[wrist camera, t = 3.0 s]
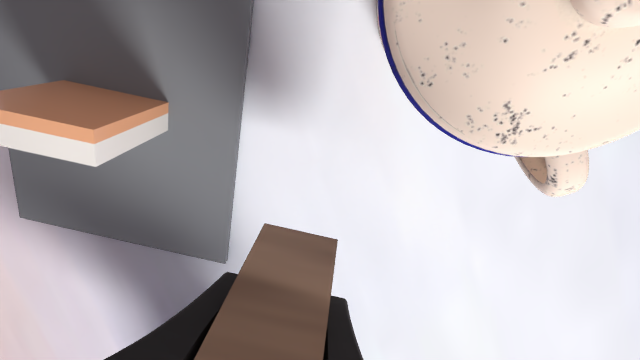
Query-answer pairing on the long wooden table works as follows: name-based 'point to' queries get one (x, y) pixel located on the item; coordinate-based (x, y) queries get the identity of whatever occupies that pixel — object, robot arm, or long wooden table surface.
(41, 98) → the tile
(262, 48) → the long wooden table surface
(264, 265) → the tan wooden brick
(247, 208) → the long wooden table surface
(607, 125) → the teacup with lid
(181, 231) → the mat
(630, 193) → the long wooden table surface
